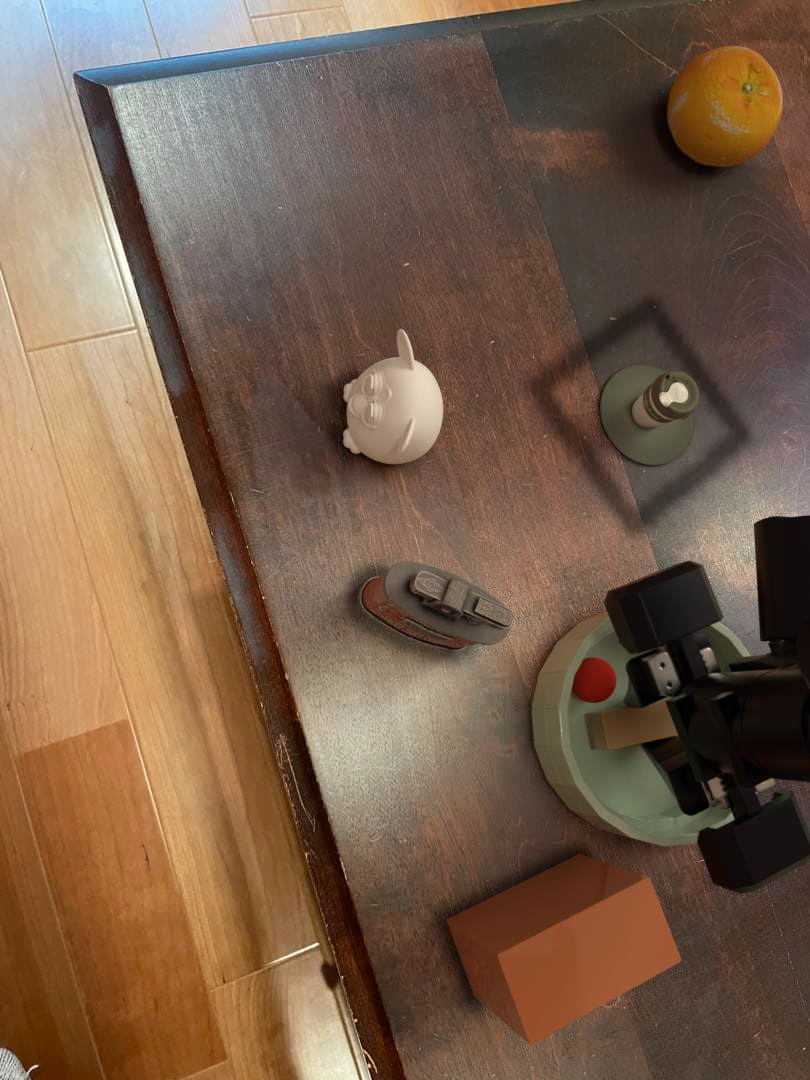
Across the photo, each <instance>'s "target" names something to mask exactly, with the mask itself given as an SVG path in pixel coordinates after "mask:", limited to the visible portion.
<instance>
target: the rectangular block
mask: <svg viewBox="0 0 810 1080" xmlns="http://www.w3.org/2000/svg"><path fill="white" fill-rule="evenodd" d="M446 923H447V926H448V928H449V932H450V934H451V937H452V940H453V942H454V945H455V947H456V950H457V953H458V956H459V959H460V961H461V964H462V967H463V970H464V973H465V975H466V978H467V980H468V983H469V986H470V989H471V991H472V993H473V997H474V998H476V1000H478V1001H479V1002H480V1003H481V1004H482V1005H484V1006H485V1007H486V1008H487V1009H488V1010H490V1011H491V1012H492V1013H493V1014H494V1015H495V1016H496V1017H497V1018H499V1019H500V1020H501V1021H502V1022H503V1023H504V1024H505V1025H506V1026H508V1027H509V1028H510V1029H511V1030H512V1031H513V1032H514V1033H516V1035H518V1036H519V1037H520V1038H522V1040H523V1041H525V1042H526V1043H527V1044H528V1045H529V1046H532V1045H534V1044H536V1043H538V1042H539V1041H541V1040H543V1039H544V1038H547V1037H548V1036H551V1035H552V1034H554V1033H555V1032H557V1031H559V1030H561V1029H563V1028H565V1027H566V1026H568V1025H570V1024H572V1023H573V1022H575V1021H578V1020H579V1019H581V1018H582V1017H585V1016H586V1015H587V1014H589V1013H592V1012H593V1011H595V1010H597V1009H598V1008H601V1007H602V1006H604V1005H605V1004H608V1003H609V1002H611V1001H613V1000H614V999H616V998H619V997H620V996H622V995H625V993H627V992H629V991H631V990H633V989H635V988H636V987H638V986H640V985H641V984H643V983H645V982H647V981H649V980H651V979H652V978H654V977H656V976H658V975H659V974H661V973H663V972H665V971H667V970H668V969H670V968H672V967H674V966H676V965H677V964H679V963H681V962H682V958H681V954H680V952H679V949H678V947H677V944H676V943H675V939H674V937H673V935H672V932H671V929H670V926H669V923H668V922H667V919H666V916H665V913H664V911H663V908H662V906H661V903H660V901H659V897H658V895H657V893H656V890H655V887H654V885H653V882H652V880H651V877H650V876H648V875H646V874H642V873H640V872H637V871H633V870H630V869H627V868H624V867H621V866H618V865H616V864H613V863H610V862H606V861H603V860H600V859H597V858H595V857H592V856H588V855H586V854H582V853H578V854H576V855H574V856H572V857H570V858H567V859H566V860H564V861H562V862H559V863H557V864H556V865H554V866H552V867H549V868H547V869H545V870H544V871H542V872H539V873H538V874H536V875H534V876H531V877H529V878H527V879H525V880H522V882H519V883H517V884H516V885H513V886H510V887H508V888H507V889H505V890H503V891H501V892H499V893H497V894H495V895H493V896H491V897H488V898H487V899H485V900H483V901H481V902H478V903H477V904H475V905H473V906H470V907H469V908H466V909H464V910H462V911H461V912H459V913H456V914H455V915H452V916H450V917H448V918H446Z"/></svg>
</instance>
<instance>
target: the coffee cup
mask: <svg viewBox="0 0 810 1080" xmlns="http://www.w3.org/2000/svg"><path fill="white" fill-rule="evenodd" d="M699 401H700V389H699V386H698V385H697V383H696V381H695V379H693V377H692V376H691V375H689V374H687V373H686V372H684V371H681V370H671V371H666V370H664V369H662V368H660V367H658V366H654V365H650V364H642V363H641V364H631V365H628V366H626V367H623V368H621V369H619V370H618V371H616V372H615V373H614V374H613V375H612V376H611V377H610V379H609V380H608V381H607V383H606V384H605V386H604V388H603V391H602V393H601V397H600V405H599V408H600V409H599V411H600V413H599V414H600V420H601V423H602V427H603V428H604V432H605V434H606V435H607V437H608V439H609V441H610V442H611V444H612V445H613V446H614V447H615V449H617V451H618V452H620V453H621V455H623V456H625V458H627V459H629V460H631V461H633V462H634V463H635V462H636V463H637V464H641V465H644V466H645V465H646V466H663V465H666V464H670V463H671V462H673V461H675V460H677V459H679V457H680V456H682V455H684V453H685V452H686V451H687V449H688V448H689V446H690V445H691V442H692V440H693V438H694V434H695V428H696V416H695V409H696V408H697V406H698V404H699Z"/></svg>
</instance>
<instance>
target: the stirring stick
mask: <svg viewBox="0 0 810 1080" xmlns="http://www.w3.org/2000/svg"><path fill="white" fill-rule="evenodd" d="M669 699H672V698H671V697H666V698H664V699H662V700H659V701H657V702H655V703H653V704H650V705H648V706H646V707H644V708H631V707H628V706H626V705H625V706H620V707H615V708H610V709H605V710H600V711H595V712H590V713H585V714H584V717H585V722H586V727H587V732H588V737H589V742H590V747H591V749H592V750H614V749H618V748H623V747H627V746H632V745H637V744H641V743H646V742H651V741H655V740H660V739H665V738H669V737H674V736H678V733H677V731H676V728H675V726H674V723H673V721H672V718H671V716H670V713H669V710H668V708H667V705H666V703H665V701H667V700H669Z"/></svg>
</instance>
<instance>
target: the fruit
mask: <svg viewBox="0 0 810 1080" xmlns="http://www.w3.org/2000/svg"><path fill="white" fill-rule="evenodd" d="M783 97H784V96H783V90H782V85H781V83H780V80H779V78H778V76H777V74H776V72H775V71H774V69H773V68H772V66H771V65H770V64H769V62H768V61H767V60H766V59H765V58H764V57H763V56H762V55H761V54H760V53H758V52H757V51H755V50H753V49H751V48H749V47H745V46H738V45H725V46H719V47H716V48H712V49H710V50H708V51H704V52H703V53H701V54H699V55H697V56H695V57H694V58H693V59H691V60H690V61H689V62H688V63H687V64H686V65H685V66H684V67H683V68H682V69H681V70H680V72H679V73H678V74H677V76H676V77H675V80H674V82H673V84H672V86H671V89H670V93H669V96H668V101H667V109H666V111H667V114H666V118H667V126H668V128H669V131H670V134H671V136H672V138H673V140H674V143H675V145H676V147H678V148H679V150H681V152H682V153H683V154H684V155H686V156H687V157H689V158H690V159H692V160H693V161H694V162H696V163H698V164H700V165H703V166H709V167H711V166H712V167H721V168H724V167H725V168H727V167H728V168H729V167H733V166H736V165H740V164H742V163H744V162H747V161H749V160H750V159H752V158H754V157H756V156H757V155H759V154H760V153H761V152H762V151H763V150H764V149H765V148H766V147H767V146H768V144H769V143H770V141H772V138H773V137H774V135H775V133H776V131H777V129H778V127H779V124H780V121H781V119H782V116H783V109H784V108H783V107H784V99H783Z"/></svg>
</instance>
